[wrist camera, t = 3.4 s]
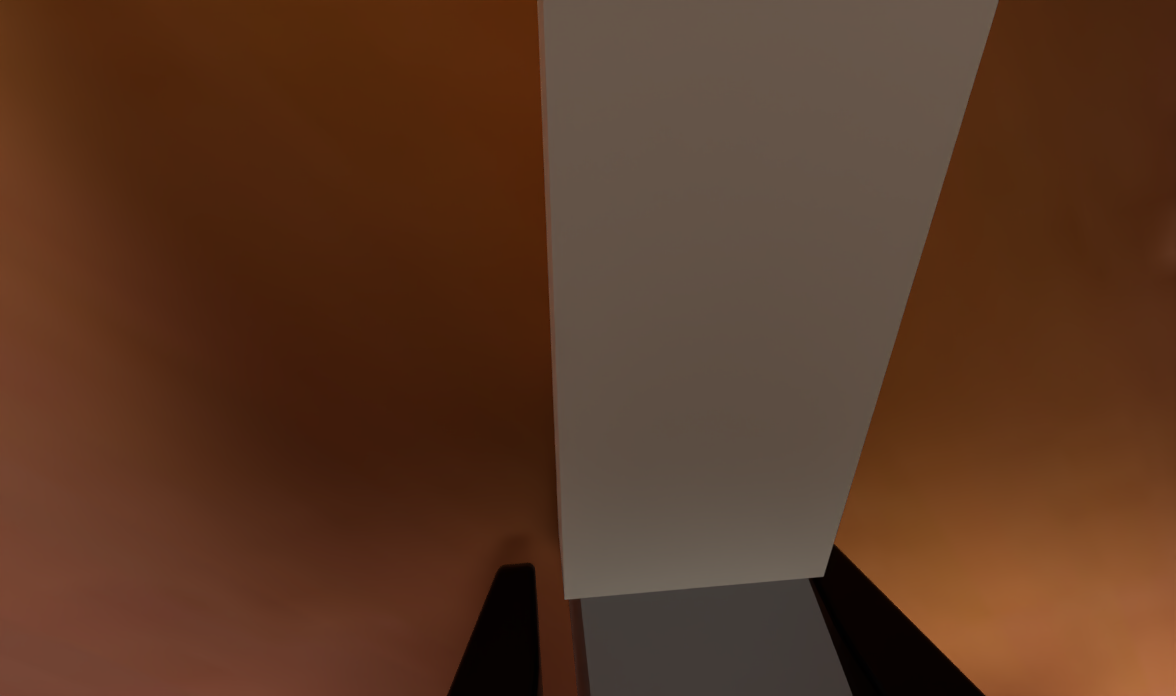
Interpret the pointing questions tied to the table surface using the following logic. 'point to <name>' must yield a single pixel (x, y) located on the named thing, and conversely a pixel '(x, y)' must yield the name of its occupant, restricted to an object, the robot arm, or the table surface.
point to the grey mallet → (729, 310)
